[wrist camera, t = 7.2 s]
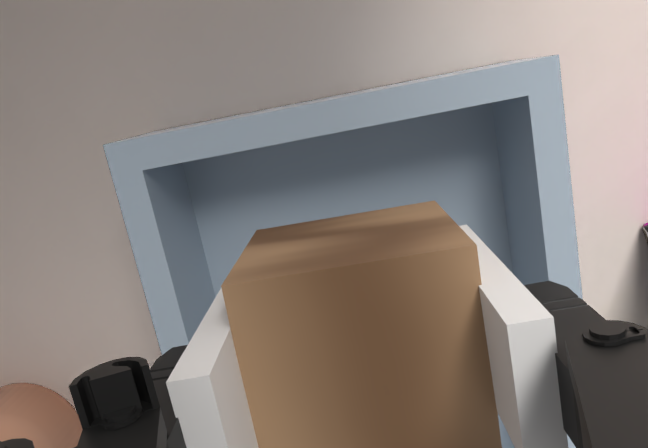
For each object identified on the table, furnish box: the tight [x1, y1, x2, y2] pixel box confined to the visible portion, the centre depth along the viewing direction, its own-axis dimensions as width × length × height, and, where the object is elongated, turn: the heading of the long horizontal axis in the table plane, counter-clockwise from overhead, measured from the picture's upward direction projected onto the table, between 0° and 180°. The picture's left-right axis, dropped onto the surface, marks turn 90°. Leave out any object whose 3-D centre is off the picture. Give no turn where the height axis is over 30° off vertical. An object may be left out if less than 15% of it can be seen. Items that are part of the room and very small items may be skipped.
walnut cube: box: [221, 200, 502, 448], centre depth 14 cm, size 5×5×5 cm
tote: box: [103, 55, 583, 448], centre depth 22 cm, size 18×14×5 cm
